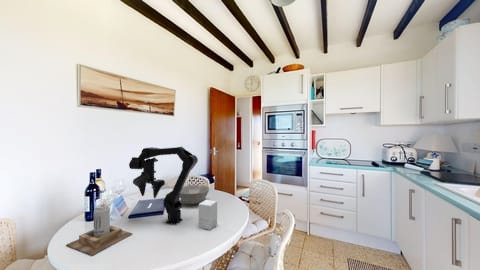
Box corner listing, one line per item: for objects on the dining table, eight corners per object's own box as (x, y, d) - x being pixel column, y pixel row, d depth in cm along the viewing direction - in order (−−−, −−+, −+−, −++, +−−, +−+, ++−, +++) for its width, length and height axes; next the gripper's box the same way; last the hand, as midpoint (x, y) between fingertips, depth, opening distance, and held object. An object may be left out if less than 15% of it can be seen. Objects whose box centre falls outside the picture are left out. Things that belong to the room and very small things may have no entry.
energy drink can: (90, 241, 86) (90, 208, 86) (100, 234, 92) (100, 203, 92) (103, 242, 86) (103, 208, 85) (112, 235, 92) (112, 203, 91)
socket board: (132, 234, 93) (132, 227, 93) (92, 256, 77) (92, 247, 77) (108, 227, 100) (108, 220, 100) (66, 245, 84) (66, 237, 84)
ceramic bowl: (206, 209, 125) (206, 193, 125) (171, 208, 126) (171, 193, 125) (211, 197, 147) (211, 184, 147) (181, 197, 148) (181, 184, 148)
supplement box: (217, 224, 104) (217, 201, 104) (209, 230, 98) (210, 205, 98) (206, 221, 108) (206, 199, 107) (198, 227, 101) (198, 203, 101)
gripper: (124, 170, 106) (124, 199, 106) (149, 173, 98) (149, 204, 98) (141, 167, 116) (141, 193, 116) (165, 169, 109) (165, 197, 109)
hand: (148, 196), depth 109 cm, fingers open, 9 cm apart
